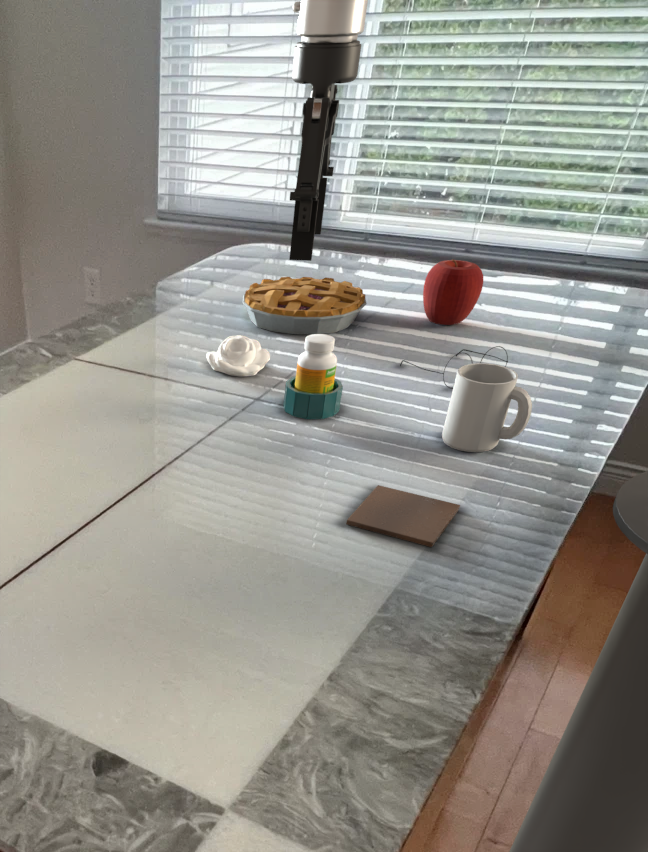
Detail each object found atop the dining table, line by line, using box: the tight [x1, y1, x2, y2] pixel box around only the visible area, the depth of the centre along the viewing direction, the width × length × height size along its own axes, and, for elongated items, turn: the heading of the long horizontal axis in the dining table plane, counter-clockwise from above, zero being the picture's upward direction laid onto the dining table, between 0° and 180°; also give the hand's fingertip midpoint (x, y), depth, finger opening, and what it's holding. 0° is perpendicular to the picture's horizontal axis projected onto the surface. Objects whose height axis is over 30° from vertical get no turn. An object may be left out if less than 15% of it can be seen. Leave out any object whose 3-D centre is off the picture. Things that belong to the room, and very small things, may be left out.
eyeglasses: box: [399, 345, 509, 390], centre depth 128 cm, size 11×13×5 cm
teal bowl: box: [282, 375, 344, 420], centre depth 120 cm, size 8×8×4 cm
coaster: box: [345, 484, 461, 548], centre depth 97 cm, size 10×10×1 cm
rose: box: [206, 334, 271, 377], centre depth 133 cm, size 10×4×10 cm
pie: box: [242, 276, 367, 335], centre depth 150 cm, size 22×22×5 cm
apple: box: [422, 258, 484, 326], centre depth 144 cm, size 10×10×10 cm
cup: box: [441, 362, 533, 453], centre depth 108 cm, size 7×10×9 cm
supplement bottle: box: [294, 334, 338, 393], centre depth 118 cm, size 5×5×10 cm
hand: (305, 246), depth 110 cm, fingers open, 13 cm apart
